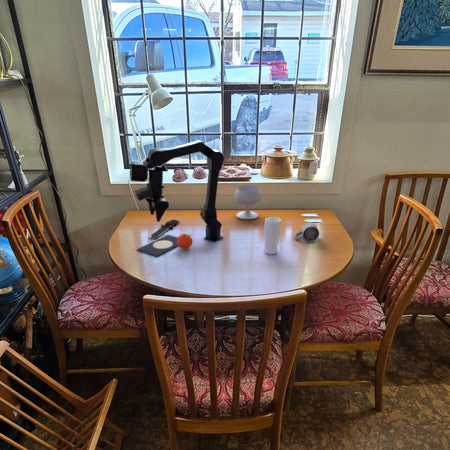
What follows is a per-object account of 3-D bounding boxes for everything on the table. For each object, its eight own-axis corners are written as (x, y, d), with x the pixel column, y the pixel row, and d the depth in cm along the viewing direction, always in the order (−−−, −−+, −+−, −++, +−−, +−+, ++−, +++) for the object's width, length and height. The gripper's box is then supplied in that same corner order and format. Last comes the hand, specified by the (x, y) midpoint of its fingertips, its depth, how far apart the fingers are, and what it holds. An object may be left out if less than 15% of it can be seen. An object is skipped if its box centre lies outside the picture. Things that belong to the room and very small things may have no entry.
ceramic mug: (316, 235, 178) (318, 220, 173) (318, 242, 171) (320, 226, 167) (294, 235, 178) (295, 220, 174) (295, 242, 172) (296, 226, 167)
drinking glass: (268, 256, 159) (270, 223, 151) (260, 250, 164) (261, 218, 156) (281, 253, 161) (284, 220, 153) (272, 247, 166) (275, 215, 158)
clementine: (186, 243, 171) (185, 228, 167) (197, 247, 167) (197, 232, 163) (174, 249, 166) (173, 234, 162) (185, 253, 162) (184, 238, 158)
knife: (154, 240, 174) (154, 238, 173) (143, 238, 176) (142, 235, 176) (182, 223, 193) (181, 220, 192) (171, 221, 195) (171, 218, 195)
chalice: (236, 211, 208) (236, 184, 200) (260, 212, 206) (262, 185, 198) (233, 220, 196) (233, 191, 188) (259, 221, 195) (260, 192, 187)
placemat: (187, 241, 173) (187, 240, 172) (157, 257, 159) (157, 255, 159) (168, 235, 179) (167, 234, 178) (137, 250, 165) (137, 248, 165)
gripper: (130, 176, 157) (131, 211, 165) (142, 187, 143) (142, 226, 150) (156, 176, 161) (155, 211, 169) (169, 187, 147) (168, 225, 155)
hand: (155, 218), depth 161 cm, fingers open, 9 cm apart
